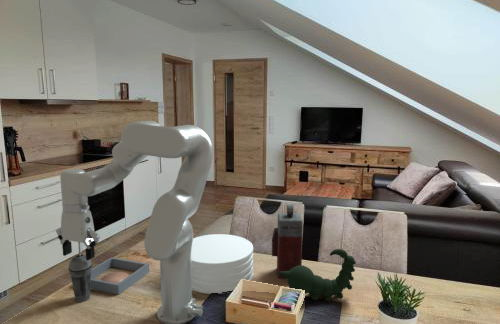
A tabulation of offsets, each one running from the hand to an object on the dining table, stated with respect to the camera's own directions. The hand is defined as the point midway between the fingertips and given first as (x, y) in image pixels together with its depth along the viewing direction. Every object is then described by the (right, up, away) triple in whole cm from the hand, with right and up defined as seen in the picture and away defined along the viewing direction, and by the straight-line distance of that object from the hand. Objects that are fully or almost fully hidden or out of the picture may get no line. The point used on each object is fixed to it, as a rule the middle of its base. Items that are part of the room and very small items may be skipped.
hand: (78, 256), depth 121 cm
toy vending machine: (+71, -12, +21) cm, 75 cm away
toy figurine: (+80, -15, +4) cm, 81 cm away
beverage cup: (0, -15, +3) cm, 15 cm away
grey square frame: (+6, -13, +16) cm, 21 cm away
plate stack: (+45, -13, +20) cm, 50 cm away
